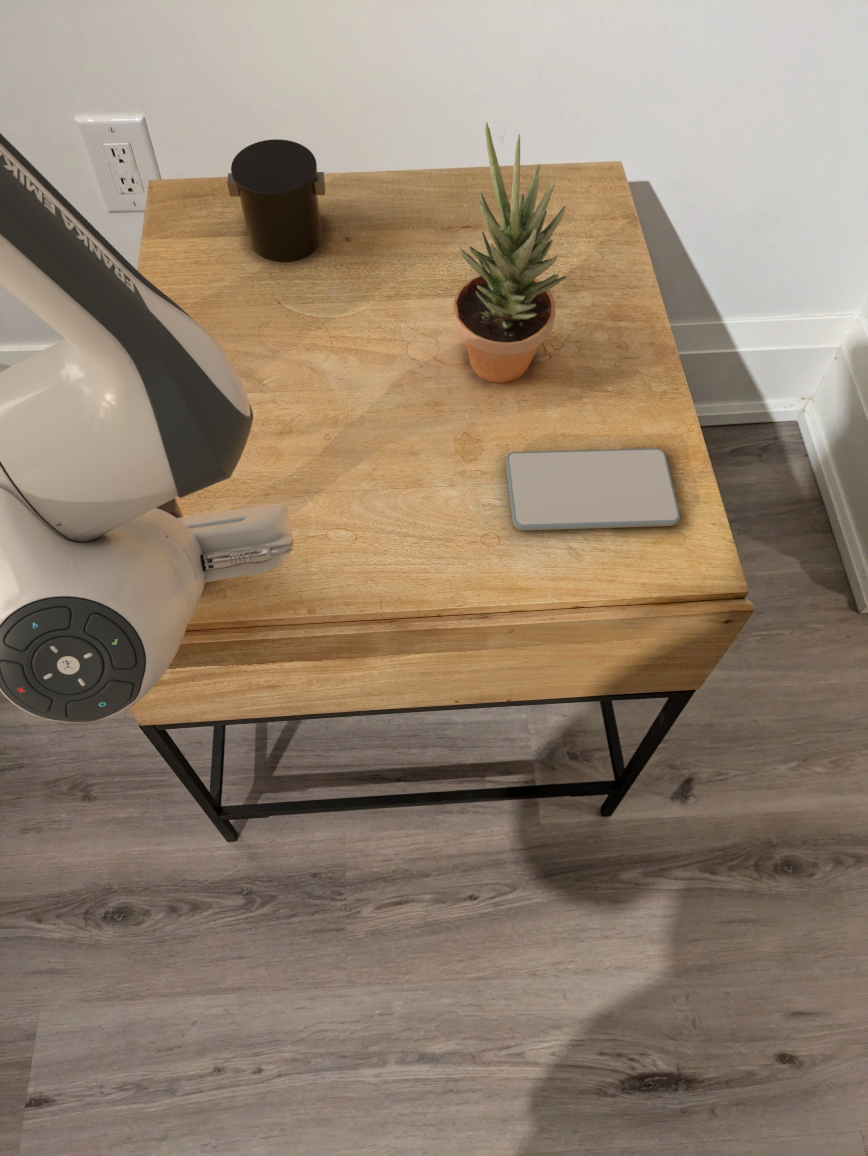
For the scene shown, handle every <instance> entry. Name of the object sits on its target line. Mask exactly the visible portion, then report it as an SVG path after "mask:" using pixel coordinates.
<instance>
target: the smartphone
mask: <svg viewBox="0 0 868 1156" xmlns="http://www.w3.org/2000/svg"><path fill="white" fill-rule="evenodd" d="M504 461H505V462H504V463H505V470H506V479H507V486H508V495H509V502H510V503H509V504H510V512H511V520H512V521H511V523H512V525H513V527H515V529H517V530H519V531H548V530H549V531H550V530H554V531H555V530H580V529H581V530H582V529H583V530H584V529H586V530H587V529H612V528H614V529H615V528H617V529H618V528H644V527H645V528H648V527H673V526H675V525H677V524H678V523H679V521H680V519H681V514H680V513H681V512H680V509H679V504H678V501H677V500H678V499H677V496H676V492H675V487H674V484H673V480H672V475H671V470H670V465H669V462H668V458H667V454H666V453H665V451H664V450H663V449H660V448H656V447H655V448H654V447H649V448H619V449H618V448H617V449H616V448H615V449H613V448H611V449H579V450H575V449H574V450H543V451H541V450H540V451H539V450H538V451H536V450H535V451H512V452H510V453H508V454H507V455H506V456H505V460H504Z"/></svg>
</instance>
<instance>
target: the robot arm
mask: <svg viewBox="0 0 868 1156" xmlns="http://www.w3.org/2000/svg"><path fill="white" fill-rule="evenodd" d="M0 286H1V287H2V288H3V289H4V290H5V291H7V293H9V294H11V295H12V296H13V297H14V298H15V299H17V300H18V301H19V302H20V303H21V304H23V305H24V306H25V308H28V309H29V310H30V311H31V312H32V313H34V314H35V315H36V316H37V317H38V318H40V320H42V321H43V322H44V323H46V324H47V325H48V326H49V327H50V328H51V329H53V330H54V331H55V332H56V333H58V334H59V335H60V336H61V337H63V338H64V339H61V340H60V341H58V342H55V343H54V344H52V345H50V346H48V347H46V348H45V349H43V350H41V351H38V352H36V353H34V354H33V355H31V356H29V357H27V358H25V359H22V360H21V361H19V362H17V363H15V364H13V365H11V366H10V367H9V366H8V368H5V369H4V370H1V371H0V692H1V693H2V695H3V696H4V697H5V698H6V699H7V700H8V701H9V702H10V703H12V704H13V705H14V706H16V707H17V708H19V709H20V710H22V711H23V712H26V713H28V714H30V715H33V716H36V717H38V718H40V719H44V720H48V721H52V722H59V723H69V724H70V723H73V724H75V723H76V724H81V723H82V724H83V723H91V722H96V721H100V720H101V721H102V720H105V719H107V718H110V717H113V716H116V715H118V714H121V713H123V712H125V711H126V710H128V709H130V708H132V707H133V706H135V705H136V704H137V703H138V702H139V701H141V700H142V699H143V698H145V696H146V695H147V694H148V693H149V692H150V691H151V690H152V689H153V688H154V687H155V686H156V684H158V682H159V681H160V679H162V677H163V676H164V675H165V673H166V672H167V671H168V669H169V667H170V666H171V664H172V663H173V660H174V659H175V657H176V655H177V653H178V651H179V649H180V647H181V645H182V642H183V640H184V637H185V634H186V631H187V627H188V625H189V624H190V621H191V620H192V617H193V615H194V613H195V611H196V608H197V606H198V604H199V601H200V599H201V597H202V594H203V591H204V588H205V585H206V583H210V582H211V583H212V582H216V581H217V582H219V581H223V580H229V579H230V580H231V579H236V578H243V577H249V576H256V575H262V574H265V573H268V572H272V571H274V570H276V569H279V568H280V567H281V566H283V565H284V564H285V563H286V562H287V560H288V559H289V558H290V557H291V554H292V552H293V551H294V547H295V539H294V538H293V537H294V536H293V530H292V524H291V519H290V513H289V510H288V508H287V506H286V505H284V504H278V503H269V504H263V505H257V506H249V507H243V508H237V509H229V510H222V511H216V512H215V511H214V512H209V513H202V514H195V515H188V516H183V517H180V518H176V517H174V516H173V515H171V514H169V513H167V512H165V511H163V510H160V509H157V507H158V506H160V505H162V504H164V503H166V502H168V501H170V500H172V499H174V498H175V499H176V498H179V499H182V498H184V497H187V496H190V495H192V494H194V493H197V492H199V491H201V490H204V489H207V488H209V487H211V486H213V485H216V484H218V483H221V482H223V481H226V480H228V479H230V478H232V476H233V473H234V472H235V470H236V468H237V466H238V464H239V462H240V460H241V457H242V455H243V453H244V450H245V447H246V445H247V443H248V441H249V440H248V439H249V436H250V433H251V429H252V426H253V421H254V412H253V409H252V406H251V403H250V400H249V395H248V393H247V390H246V387H245V384H244V382H243V380H242V377H241V375H240V374H239V372H238V369H237V368H236V366H235V364H234V363H233V361H232V359H231V358H230V356H229V355H228V354H227V351H225V350H224V348H223V347H222V345H221V344H220V343H219V342H218V341H217V340H216V339H215V338H214V336H212V334H211V333H210V332H209V331H207V330H206V329H205V328H204V327H203V326H202V325H201V324H199V323H198V322H197V321H196V320H194V319H193V317H191V315H189V314H188V312H187V311H185V310H184V309H183V308H182V307H181V306H179V305H178V304H177V303H176V302H175V301H174V300H173V299H171V298H170V297H169V296H168V295H166V294H165V293H164V292H163V291H161V289H159V288H158V287H157V286H156V285H154V284H153V283H152V282H151V281H150V280H149V279H147V278H146V277H145V276H144V275H143V274H142V273H140V271H139V270H137V268H136V267H135V266H133V265H132V264H131V263H130V262H129V261H128V260H127V259H126V258H125V257H124V256H123V255H122V254H121V252H120V251H118V249H116V248H115V246H114V245H112V244H111V242H109V240H107V239H106V238H105V237H104V235H102V233H100V232H99V230H98V229H96V227H94V226H93V225H92V223H91V222H90V221H89V220H88V219H87V218H86V217H84V216H83V214H82V213H80V211H78V210H77V208H76V207H74V206H73V204H72V203H71V202H70V201H69V200H68V199H67V198H66V197H65V196H64V195H63V194H62V193H61V192H60V191H59V190H58V189H57V188H56V187H55V186H54V185H53V184H52V183H51V182H50V181H49V180H48V179H47V178H46V177H45V176H44V175H43V174H42V173H41V172H40V171H39V170H38V169H37V168H36V167H35V166H34V165H33V164H32V162H30V161H29V159H27V158H26V157H25V156H24V155H23V154H22V153H21V152H20V151H19V150H18V149H17V148H16V147H15V146H14V145H13V144H12V143H11V142H10V141H9V140H8V139H7V138H6V136H4V135H3V133H1V132H0Z"/></svg>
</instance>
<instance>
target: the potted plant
mask: <svg viewBox="0 0 868 1156" xmlns="http://www.w3.org/2000/svg"><path fill="white" fill-rule="evenodd" d="M484 131H485V140H486V149H487V156H488V157H487V158H488V163H489V169H490V175H491V180H492V186H493V190H494V195H495V199H496V203H497V209H498V212H499V216H500V217H499V218H500V221H501V224H499V222H498V221H497V220H496V218H495V216H494V214H493V213H492V211H491V209H490V206H489V204H488V203H487V201H486V199H485V196H484V195H483V193H482V191H480V192H479V198H480V199H479V200H478V207H479V210H480V214H481V217H482V219H483V222H484V223H485V225H486V227H487V230H488V232H489V235H490V237H491V239H492V242H493V244H492V243H489V241H488V239H487V237H486V234H485V232H484V230H482V231H481V239H482V243H483V246H484V250H485V253H486V254H484V253H482V252H480V251H479V250H477V249H476V248H474V247H473V246H470V245H469V246H468V248H469V250H470V253H471V254H472V255H473V256H474V257H475V258H476V259H477V261H476V260H475V259H474V258H473V257H472V256H471V255H470V254H469V253H467V252H466V251H465V250H464V249H462V248H459V254H460V256H461V257H462V258H463V259H464V260H465V261H466V263H467V264H468V265H469V266H470V267H471V268H472V269H473V270H474V271H475V272H476V273H477V274H478V275H475V276H474V277H471V278H469V279H468V280H466V281H465V282H464V283H463V284H462V285H461V286H460V287H459V289H458V290H457V292H456V293H455V295H454V299H453V318H454V325H455V328H456V330H457V332H458V334H459V336H460V337H461V338H462V339H463V342H464V345H465V348H466V351H467V355H468V359H469V363H470V366H471V368H472V370H473V371H474V373H475V374H476V375H477V376H478V377H479V378H481V379H482V380H484V381H487V382H488V383H489V382H490V383H495V384H503V383H507V382H511V381H515V380H517V379H519V378H520V377H522V376H523V375H524V373H526V371H527V370H528V369H529V366H530V364H531V362H532V361H533V359H534V357H535V355H536V353H537V351H538V349H539V347H540V346H541V345H542V344H543V343H544V342H545V341H546V340H547V338H548V337H549V336H550V334H551V332H552V330H553V326H554V322H555V318H556V312H557V311H556V307H557V306H556V300H555V298H554V296H553V293H552V291H551V289H552V288H554V287H556V286H557V285H559V284H560V283H561V282H563V281H565V280H566V279H567V278H568V277H567V276H565V275H564V276H562V277H560V275H559V274H555V273H554V274H552V275H550V276H549V277H547V278H545V279H543V280H540V279H538V277H539V276H541V275H542V274H543V273H545V272H546V271H547V270H548V269H549V268H550V267H552V266H553V264H555V262H556V261H557V260H558V256H557V255H555V256H553V257H552V258H548V259H545V258H546V256H547V254H548V253H549V251H550V248H551V247H552V244H553V242H554V240H553V239H552V237H553V234H554V233H555V230H556V229H557V228H558V226H559V225H560V223H561V221H562V219H563V217H564V215H565V212H566V205H563V206H562V208H561V209H560V210H559V211H558V213H557V215H556V216H555V217H554V218H553V219H552V221H551V222H550V223H549V224H548V225H547V226H546V227H545V228H544V229H543V227H544V225H545V220H546V216H547V213H548V211H547V208H548V207H549V203H550V200H551V197H552V195H553V191H554V188H555V182H556V180H555V179H553V181H551V183H550V184H549V186H548V187H547V189H546V191H545V192H544V194H543V196H542V198H541V200H540V202H539V203H538V205H537V207H536V203H537V197H538V189H539V183H540V164H537V165H536V168H535V171H534V173H533V176H532V179H531V181H530V184H529V187H528V190H527V192H526V195H525V194H524V193H522V194H521V196H520V186H521V185H520V183H521V181H520V180H521V134H520V133H519V134H518V135H517V139H516V144H515V145H516V146H515V152H514V163H513V167H512V168H513V169H512V185H511V195H510V196H511V197H510V198H511V199H510V200H511V201H510V202H509V198H508V195H507V193H506V192H507V191H506V187H505V183H504V180H503V176H502V172H501V167H500V164H499V160H498V157H497V153H496V149H495V146H494V142H493V137H492V134H491V129H490V127H489V123H488V122H487V121H486V123H485V128H484ZM544 259H545V260H544Z"/></svg>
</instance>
